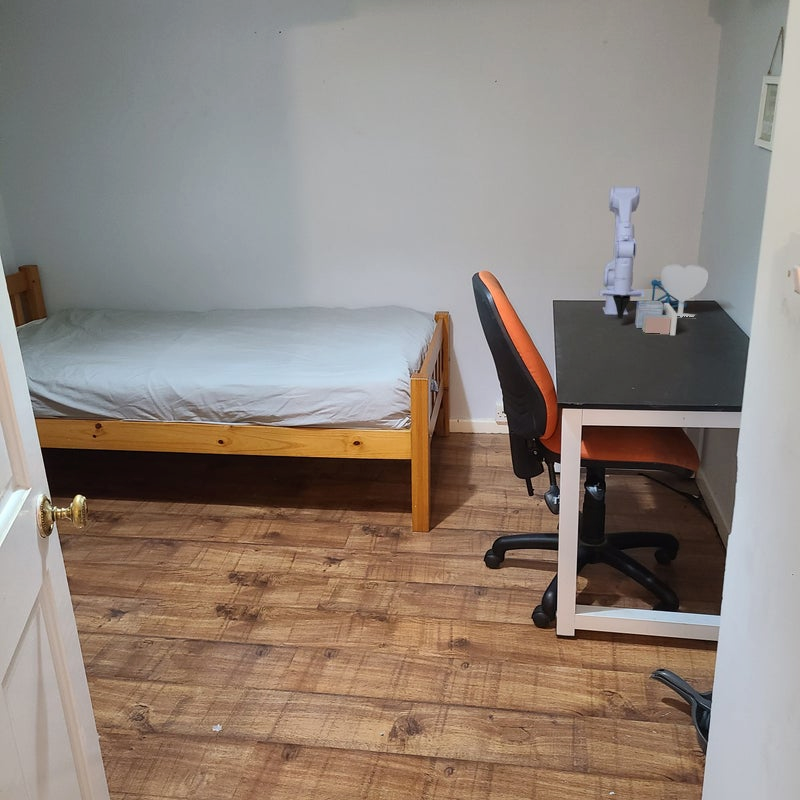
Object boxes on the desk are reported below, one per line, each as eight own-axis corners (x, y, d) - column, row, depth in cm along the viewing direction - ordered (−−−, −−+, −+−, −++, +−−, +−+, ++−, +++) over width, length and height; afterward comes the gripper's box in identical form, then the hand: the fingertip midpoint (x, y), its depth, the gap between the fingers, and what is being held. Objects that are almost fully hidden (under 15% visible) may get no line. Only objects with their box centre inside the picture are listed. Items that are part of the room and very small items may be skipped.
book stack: (637, 321, 278) (639, 301, 276) (665, 322, 277) (667, 302, 275) (644, 334, 263) (646, 313, 260) (675, 335, 261) (677, 314, 259)
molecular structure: (668, 303, 304) (670, 276, 301) (687, 308, 296) (690, 281, 292) (647, 306, 300) (650, 279, 297) (667, 311, 292) (669, 284, 288)
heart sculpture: (702, 315, 286) (708, 264, 280) (703, 318, 281) (709, 267, 275) (657, 312, 290) (661, 262, 284) (657, 316, 286) (661, 265, 279)
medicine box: (658, 325, 273) (660, 300, 270) (661, 329, 269) (663, 303, 266) (634, 325, 274) (636, 300, 271) (636, 328, 270) (639, 303, 267)
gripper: (601, 279, 264) (599, 320, 269) (647, 280, 262) (643, 320, 267) (599, 275, 271) (597, 314, 276) (644, 275, 269) (640, 315, 274)
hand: (619, 317), depth 272 cm, fingers closed
